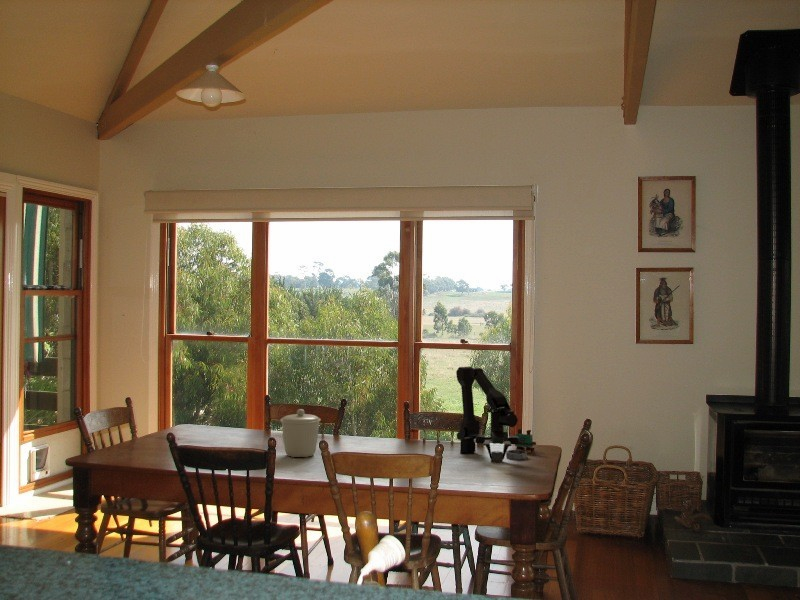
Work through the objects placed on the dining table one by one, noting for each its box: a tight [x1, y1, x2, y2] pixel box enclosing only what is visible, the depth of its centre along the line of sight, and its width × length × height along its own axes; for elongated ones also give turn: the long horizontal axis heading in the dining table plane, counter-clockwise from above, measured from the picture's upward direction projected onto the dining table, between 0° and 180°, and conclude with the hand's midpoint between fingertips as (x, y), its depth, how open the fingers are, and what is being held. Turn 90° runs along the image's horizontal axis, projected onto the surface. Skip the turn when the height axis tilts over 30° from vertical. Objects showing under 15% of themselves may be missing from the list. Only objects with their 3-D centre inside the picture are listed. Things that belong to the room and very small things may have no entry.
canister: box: [279, 408, 322, 458], centre depth 339 cm, size 18×18×21 cm
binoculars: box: [514, 428, 537, 454], centre depth 351 cm, size 9×11×10 cm
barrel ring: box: [505, 449, 528, 461], centre depth 337 cm, size 9×9×2 cm
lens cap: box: [490, 450, 504, 464], centre depth 329 cm, size 5×5×4 cm
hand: (496, 459), depth 329 cm, fingers closed on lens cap, 5 cm apart
